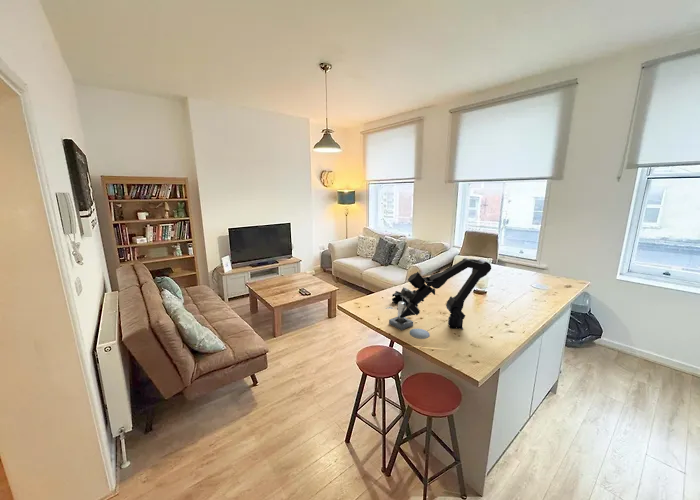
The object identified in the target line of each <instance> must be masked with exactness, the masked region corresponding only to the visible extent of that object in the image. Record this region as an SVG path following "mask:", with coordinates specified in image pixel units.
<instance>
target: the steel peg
mask: <svg viewBox="0 0 700 500" xmlns="http://www.w3.org/2000/svg"><path fill="white" fill-rule="evenodd" d="M397 308H398V310H397V316H396V317H397V322H399V323H401V324H402V323H404V322H405V318H406V317H403V318H401V317H400V315H401V314H402V313H403V312H404V311H405V310H406V303H405V302H402V301H401V302H398V305H397Z"/></svg>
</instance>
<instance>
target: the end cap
mask: <svg viewBox="0 0 700 500" xmlns="http://www.w3.org/2000/svg"><path fill="white" fill-rule="evenodd" d="M391 295H392V297H393V298H391V300H392V304H394V303H395V305H397V306H398V302H401V301H402V295H401V291H398V290H396V291H395V292H394V293H392V294H391Z"/></svg>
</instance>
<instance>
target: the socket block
mask: <svg viewBox="0 0 700 500" xmlns="http://www.w3.org/2000/svg"><path fill="white" fill-rule="evenodd" d="M397 317H398V316H395V317H393V318H390V319H388V324H389V325H390V326H392V327H394V328H396V329H397V330H399V331H403V330H406V329H408V328H411V327H413V326H414V321H413V320H411V319H409V318H407V317H405V322H404V323H402V324H401V323H399V322H397Z"/></svg>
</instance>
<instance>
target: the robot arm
mask: <svg viewBox="0 0 700 500" xmlns="http://www.w3.org/2000/svg"><path fill="white" fill-rule="evenodd" d="M468 268H470V269H471V274H470V275H469V277H468V278H467V279H466V280H465V283H464V284H463V285H462V287H461V288H460V290H459V291H458V292H457V294H456V295H455V296H453V297H452V296H450V297H449V298H448V300H447V301H446V304H445V308H446V309H447V310H448V311H449V316H448V319H447V324H448V326H449V328H450V329H456V330H464V327H463V324H464V320H465V318H466V315H465V314H464V312H463V308H464V303H465V301H466V300H467V298H468V297H469V295H471V292H472V291H473V289H474V288H475V287H476V285H477V284H478V282H479V281H480V280H481V279H482V278H484V277H485V276H487V275H488V274H489V273H490V271H491V270H492V265H491V263H489V262H488V261H486V260H484V259H482V258H480V259H472V258H467V257H464V258H462V259H461V260H460V261H458V262H457V263H454V264H453V265H452V266H449V268H447V269H445V270H443V271H440V272H436V273H433V274H432V275H430V276H422V275H421V274H420V273H419V271H416V272H415V273H412V274H411V275H409V277H408V278H407V281H408V282H409V284H411V285H412V286H413V287H414V290H411V289H408V288H406V287H402V289H401V291H400V292H401V295H402V302H405V303H406V310H405V311H404V312H403V313H402V314H401V315H400V317H401V318H403V317H405V318H407V317H410V316H418V315H419V314H420V312H421V310H420V309H419V304H420V303H421V302H424V301H425V299H426V298H427V297H428V296H429V295H431V294H433V296H435V295H436V289H438V290H439V289H440V288H441V287H442V286H444V285H445V284H446V283H447V281H448V280H450V279H451V278H453V277H454V276H456V275H458V274H460V273H461V272H464V270H467V269H468ZM415 289H416V290H415ZM396 310H397V311H398V307H397V308H396Z"/></svg>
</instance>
